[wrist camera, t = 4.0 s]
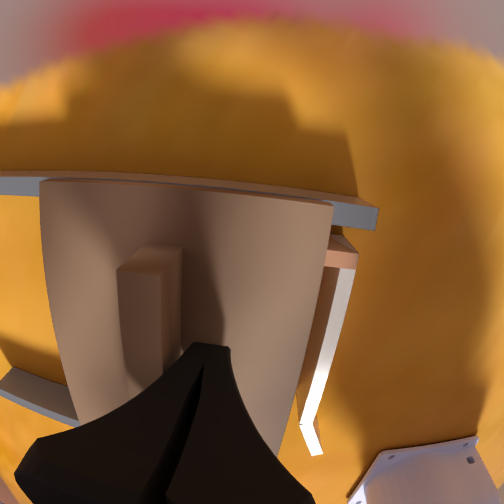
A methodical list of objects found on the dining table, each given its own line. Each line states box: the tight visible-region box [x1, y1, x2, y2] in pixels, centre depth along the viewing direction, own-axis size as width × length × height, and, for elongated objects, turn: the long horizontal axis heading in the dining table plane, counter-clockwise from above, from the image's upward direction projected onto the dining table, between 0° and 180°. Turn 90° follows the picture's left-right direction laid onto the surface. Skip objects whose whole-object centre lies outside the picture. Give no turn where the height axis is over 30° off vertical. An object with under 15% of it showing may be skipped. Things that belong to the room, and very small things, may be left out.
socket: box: [0, 171, 379, 456], centre depth 14 cm, size 21×14×2 cm
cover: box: [39, 178, 334, 457], centre depth 11 cm, size 10×14×3 cm
